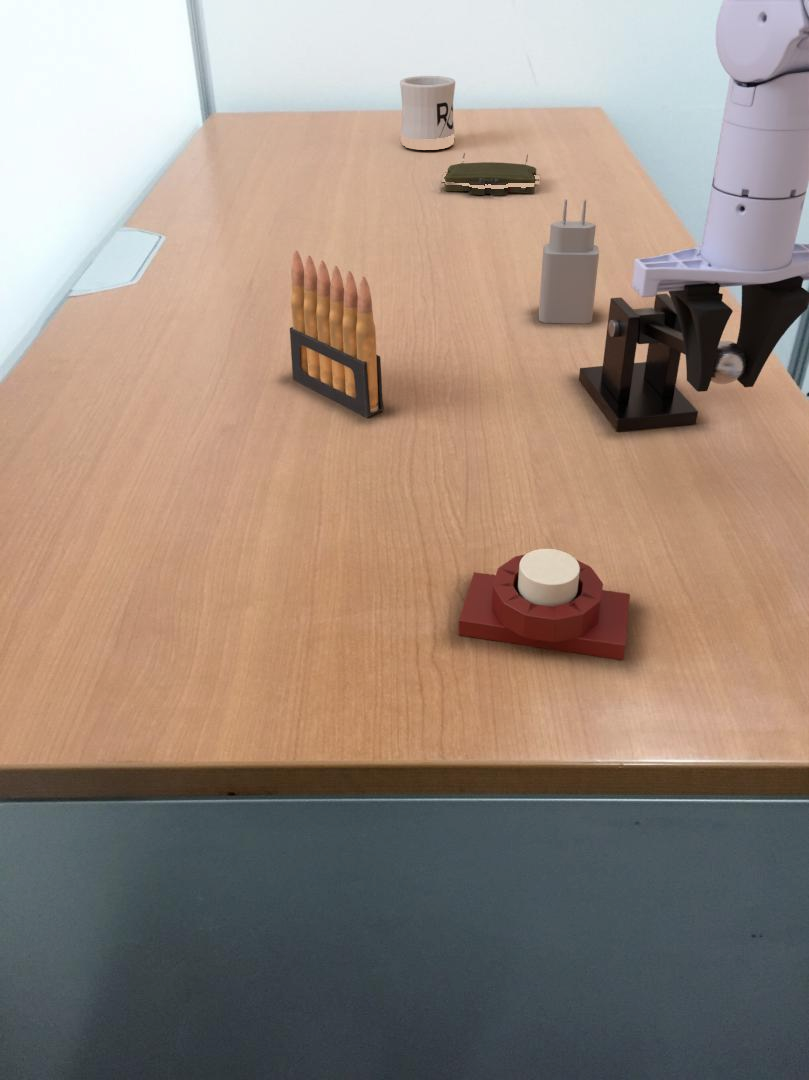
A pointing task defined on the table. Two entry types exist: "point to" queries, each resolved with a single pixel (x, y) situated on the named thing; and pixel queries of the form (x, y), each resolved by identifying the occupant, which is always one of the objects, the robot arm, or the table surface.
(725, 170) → the robot arm
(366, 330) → the ammunition clip
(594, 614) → the block
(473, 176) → the landmine
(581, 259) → the power adapter
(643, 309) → the lever
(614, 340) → the black pivot stand
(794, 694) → the table surface
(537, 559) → the button
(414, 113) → the mug
